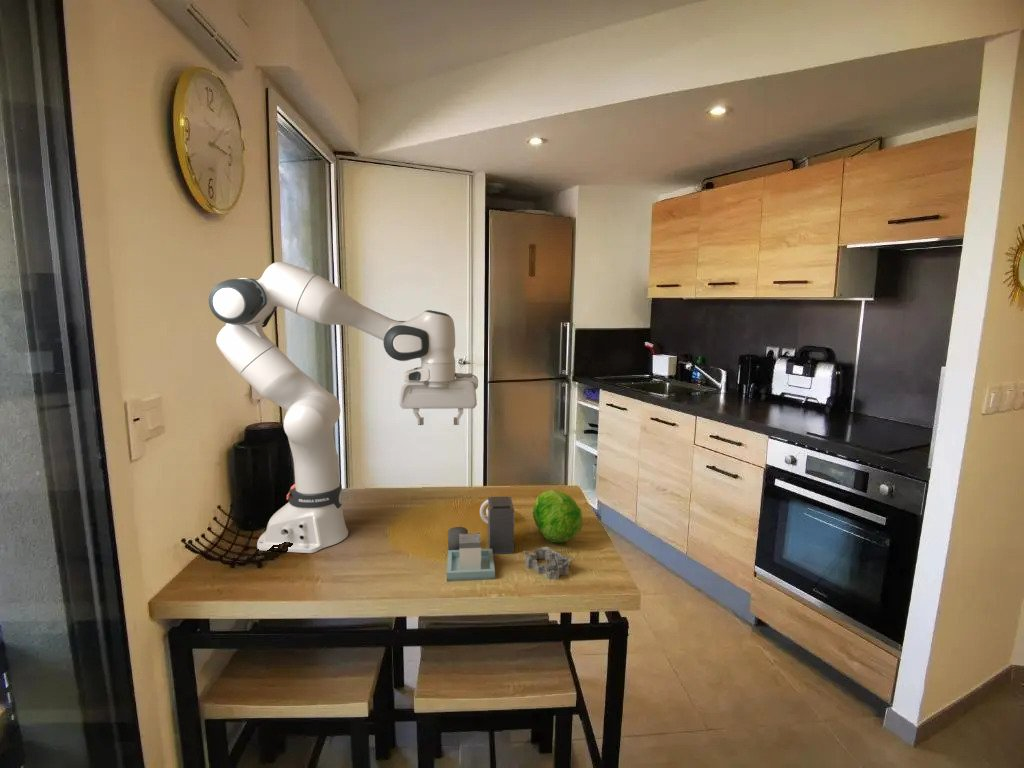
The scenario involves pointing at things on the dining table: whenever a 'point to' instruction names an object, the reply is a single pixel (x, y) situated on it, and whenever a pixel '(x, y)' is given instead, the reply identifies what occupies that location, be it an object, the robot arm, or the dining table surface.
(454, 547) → the knob
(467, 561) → the cartridge
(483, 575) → the tray
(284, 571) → the dining table surface
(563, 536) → the lettuce
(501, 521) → the block
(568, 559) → the gray jagged ring
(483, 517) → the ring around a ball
